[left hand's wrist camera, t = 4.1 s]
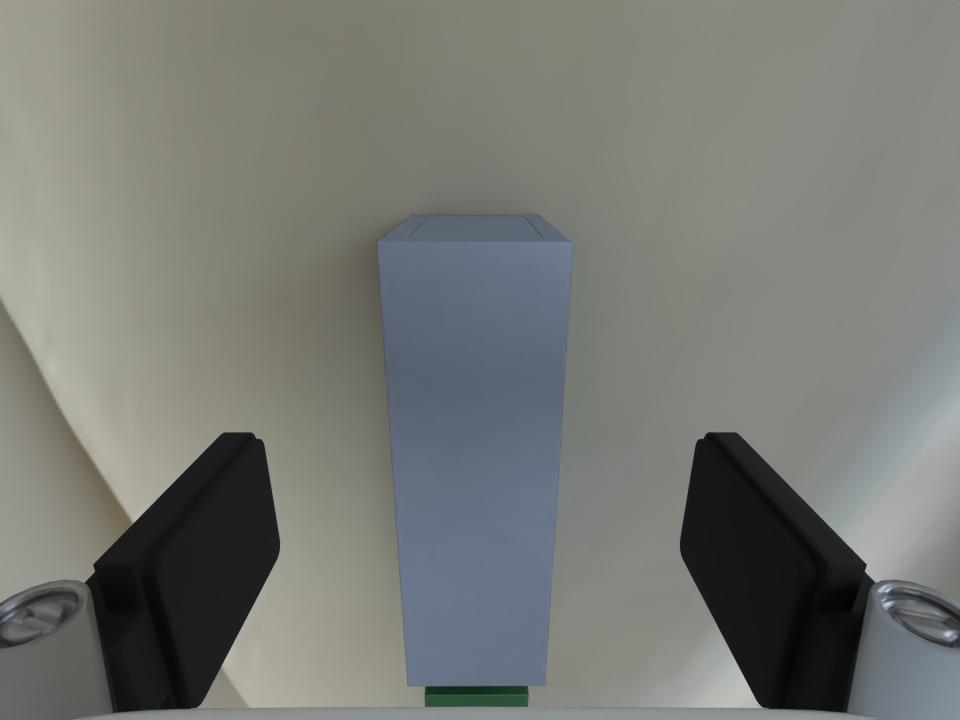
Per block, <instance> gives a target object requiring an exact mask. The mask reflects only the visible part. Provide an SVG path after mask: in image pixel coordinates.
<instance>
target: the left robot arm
mask: <svg viewBox="0 0 960 720" xmlns="http://www.w3.org/2000/svg"><path fill="white" fill-rule="evenodd" d="M279 551H280V538H279V532H278V526H277V520H276V513H275V507H274V501H273V495H272V489H271V483H270V477H269V471H268V464H267V458H266V452H265V446H264V443H263V441H262V440H261V439H256V437H255V435H254V434H253V433H252V432H226V433H223V434H221V435H220V436H219V437H218V438H217V439H216V440H215V441H214V442H213V443H212V444H211V445H210V446H209V447H208V448H207V449H206V450H205V451H204V452H203V453H202V454H201V455H200V456H199V457H198V458H197V459H196V460H195V461H194V463H193V464H192V465H191V466H190V467H189V468H188V469H187V470H186V471H185V472H184V473H183V474H182V475H181V476H180V477H179V478H178V479H177V480H176V481H175V482H174V483H173V484H172V485H171V486H170V487H169V488H168V489H167V490H166V491H165V492H164V493H163V494H162V495H161V496H160V497H159V498H158V499H157V500H156V501H155V502H154V503H153V504H152V505H151V506H150V507H149V508H148V509H147V510H146V511H145V512H144V513H143V514H142V515H141V516H140V517H139V519H138V520H137V521H136V522H135V523H134V524H133V525H132V526H131V527H130V528H129V529H128V530H127V531H126V532H125V533H124V534H123V535H122V536H121V537H120V538H119V539H118V540H117V541H116V542H115V543H114V544H113V545H112V546H111V547H110V548H109V549H108V550H107V551H106V552H105V553H104V554H103V555H102V556H101V557H100V558H99V559H98V560H97V561H96V562H95V563H94V564H93V566H94V569H95V573H94V574H93V575H92V576H91V577H90V578H89V579H88V580H87V581H86V582H85V583H82V582H80V581H77V580H59V581H53V582H47V583H44V584H41V585H38V586H34V587H31V588H29V589H27V590H24V591H22V592H20V593H18V594H16V595H13V596H11V597H10V598H8V599H7V600H5V601H3V602H2V603H0V720H960V603H958V602H957V601H955V600H953V599H952V598H950V597H949V596H947V595H944V594H942V593H940V592H938V591H936V590H933V589H931V588H929V587H926V586H922V585H919V584H916V583H913V582H907V581H901V580H883V581H880V582H878V583H875V582H874V581H873V580H872V579H871V578H870V577H869V576H868V575H867V574H866V573H865V569H866V566H867V564H866V563H865V562H864V561H863V560H862V559H861V558H860V557H859V556H858V555H857V554H856V553H855V552H854V551H853V550H852V549H851V548H850V547H849V546H848V545H847V544H846V543H845V542H844V541H843V540H842V539H841V538H840V537H839V536H838V535H837V534H836V533H835V532H834V531H833V530H832V529H831V528H830V527H829V526H828V525H827V524H826V523H825V522H824V521H823V520H822V519H821V517H820V516H819V515H818V514H817V513H816V512H815V511H814V510H813V509H812V508H811V507H810V506H809V505H808V504H807V503H806V502H805V501H804V500H803V499H802V498H801V497H800V496H799V495H798V494H797V493H796V492H795V491H794V490H793V489H792V488H791V487H790V486H789V485H788V484H787V483H786V482H785V481H784V480H783V479H782V478H781V477H780V476H779V475H778V474H777V473H776V472H775V471H774V470H773V469H772V468H771V467H770V466H769V465H768V464H767V463H766V461H765V460H764V459H763V458H762V457H761V456H760V455H759V454H758V453H757V452H756V451H755V450H754V449H753V448H752V447H751V446H750V445H749V444H748V443H747V442H746V441H745V440H744V439H743V438H742V437H741V436H740V435H739V434H737V433H734V432H708V433H707V434H706V435H705V437H704V439H699V440H698V441H697V443H696V446H695V452H694V458H693V464H692V471H691V477H690V483H689V489H688V495H687V501H686V507H685V513H684V520H683V526H682V532H681V538H680V551H681V555H682V558H683V561H684V562H685V564H686V566H687V568H688V570H689V572H690V574H691V576H692V578H693V580H694V582H695V584H696V585H697V587H698V589H699V591H700V593H701V595H702V597H703V599H704V601H705V603H706V605H707V606H708V608H709V610H710V612H711V614H712V616H713V618H714V620H715V622H716V624H717V626H718V628H719V629H720V631H721V633H722V635H723V637H724V639H725V641H726V643H727V645H728V647H729V649H730V651H731V652H732V654H733V656H734V658H735V660H736V662H737V664H738V666H739V668H740V670H741V672H742V674H743V675H744V677H745V679H746V681H747V683H748V685H749V687H750V689H751V691H752V693H753V695H754V697H755V698H756V700H757V702H758V703H759V704H760V705H761V706H762V707H764V708H769V709H755V708H632V707H328V708H205V709H191V708H196V707H198V706H199V705H200V704H201V703H202V702H203V700H204V698H205V697H206V695H207V693H208V691H209V689H210V687H211V685H212V683H213V681H214V679H215V677H216V675H217V674H218V672H219V670H220V668H221V666H222V664H223V662H224V660H225V658H226V656H227V654H228V652H229V651H230V649H231V647H232V645H233V643H234V641H235V639H236V637H237V635H238V633H239V631H240V629H241V628H242V626H243V624H244V622H245V620H246V618H247V616H248V614H249V612H250V610H251V608H252V606H253V605H254V603H255V601H256V599H257V597H258V595H259V593H260V591H261V589H262V587H263V585H264V584H265V582H266V580H267V578H268V576H269V574H270V572H271V570H272V568H273V566H274V564H275V562H276V561H277V558H278V555H279Z"/></svg>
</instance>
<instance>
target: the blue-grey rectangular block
mask: <svg viewBox="0 0 960 720" xmlns="http://www.w3.org/2000/svg"><path fill="white" fill-rule="evenodd" d="M572 254H573V242H572V241H571V240H570V239H568V238H567V237H565V236H564V235H563V234H562V233H561V232H559V231H558V230H557V229H556V228H555V227H553V226H552V225H551V224H550V223H548V222H547V221H546V220H545V219H544V218H542V216H540V215H411V216H410V217H409V218H408V219H407V220H405V221H404V222H403V223H401V224H400V225H399V226H398V227H396V228H395V229H394V230H392V231H391V232H390V233H389V234H387V235H386V236H385V237H383V238H382V239H380V240H379V241H378V242H377V255H378V269H379V284H380V298H381V312H382V326H383V341H384V355H385V369H386V384H387V398H388V412H389V427H390V441H391V455H392V469H393V484H394V498H395V512H396V527H397V541H398V555H399V570H400V584H401V598H402V612H403V627H404V641H405V655H406V670H407V684H408V686H545V681H546V665H547V649H548V633H549V618H550V602H551V586H552V570H553V554H554V539H555V523H556V507H557V491H558V475H559V460H560V444H561V428H562V412H563V396H564V381H565V365H566V349H567V333H568V317H569V302H570V286H571V270H572Z"/></svg>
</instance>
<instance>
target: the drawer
mask: <svg viewBox="0 0 960 720" xmlns="http://www.w3.org/2000/svg"><path fill="white" fill-rule="evenodd" d="M425 707H528V686H426V687H425Z"/></svg>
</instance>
